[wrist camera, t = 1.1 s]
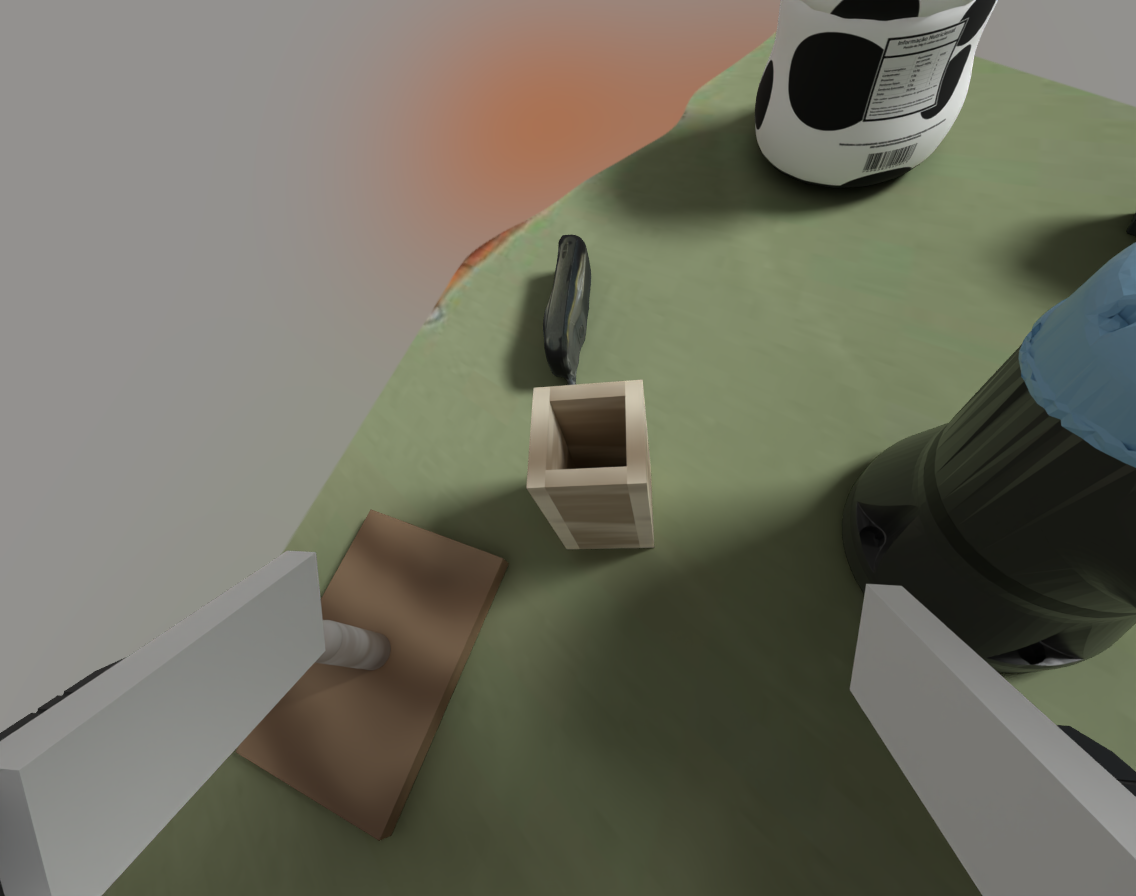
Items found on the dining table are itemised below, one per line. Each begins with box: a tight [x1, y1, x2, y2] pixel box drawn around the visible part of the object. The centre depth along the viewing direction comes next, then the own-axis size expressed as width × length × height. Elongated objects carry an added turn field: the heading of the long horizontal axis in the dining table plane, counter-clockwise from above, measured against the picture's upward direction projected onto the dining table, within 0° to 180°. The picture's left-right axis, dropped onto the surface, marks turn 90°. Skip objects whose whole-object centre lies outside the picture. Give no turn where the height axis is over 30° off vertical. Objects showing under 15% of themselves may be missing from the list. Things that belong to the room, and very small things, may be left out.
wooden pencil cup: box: [527, 380, 654, 549], centre depth 34 cm, size 6×6×12 cm
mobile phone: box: [543, 235, 591, 385], centre depth 46 cm, size 5×3×15 cm
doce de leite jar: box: [755, 0, 998, 188], centre depth 44 cm, size 17×17×18 cm
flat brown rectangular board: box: [236, 510, 509, 841], centre depth 34 cm, size 18×12×9 cm, turn 158°
